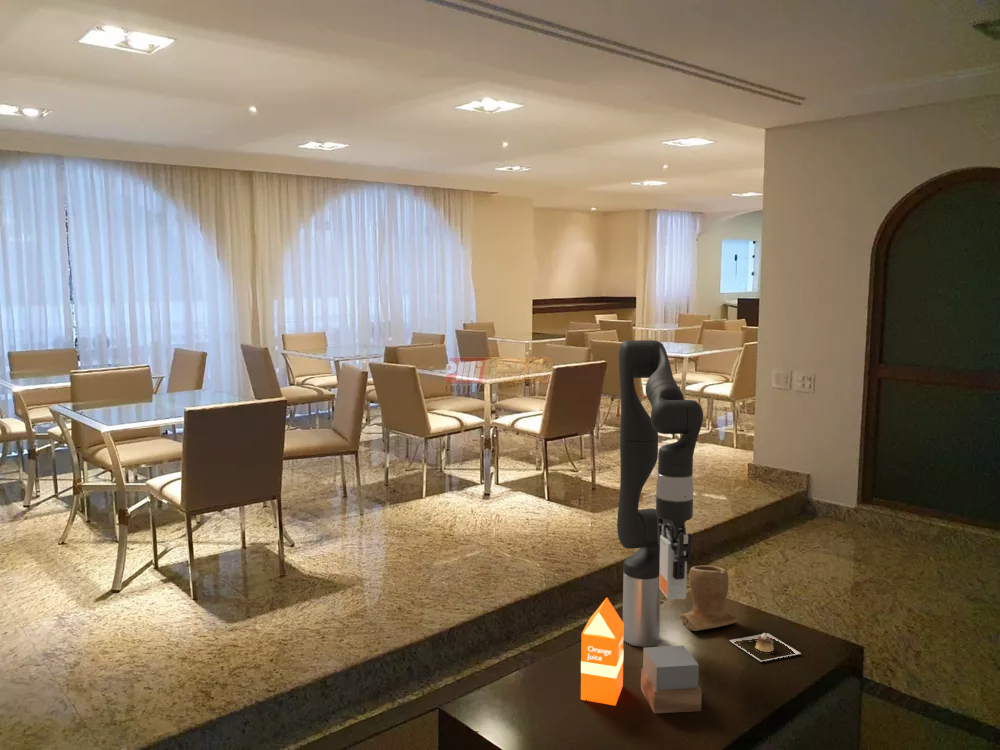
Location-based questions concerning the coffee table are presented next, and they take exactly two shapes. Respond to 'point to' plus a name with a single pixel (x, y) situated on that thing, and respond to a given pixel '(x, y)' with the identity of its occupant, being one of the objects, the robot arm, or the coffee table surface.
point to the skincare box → (670, 573)
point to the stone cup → (708, 599)
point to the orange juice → (602, 656)
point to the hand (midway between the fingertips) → (672, 572)
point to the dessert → (764, 644)
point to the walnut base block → (670, 697)
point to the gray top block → (670, 667)
